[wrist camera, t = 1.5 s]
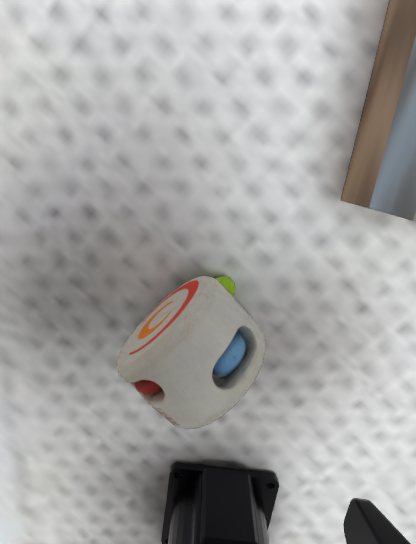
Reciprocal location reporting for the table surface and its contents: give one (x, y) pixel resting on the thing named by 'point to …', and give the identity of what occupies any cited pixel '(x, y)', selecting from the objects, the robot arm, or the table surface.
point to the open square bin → (388, 122)
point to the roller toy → (194, 353)
